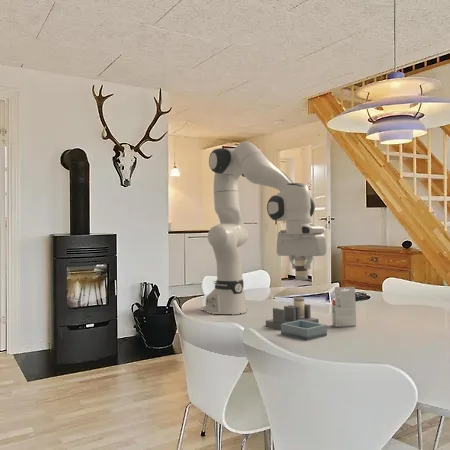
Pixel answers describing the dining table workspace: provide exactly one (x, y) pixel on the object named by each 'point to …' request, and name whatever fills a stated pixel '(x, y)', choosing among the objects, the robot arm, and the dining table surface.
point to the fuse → (300, 303)
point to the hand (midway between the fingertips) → (301, 269)
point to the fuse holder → (289, 316)
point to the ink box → (344, 307)
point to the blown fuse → (301, 268)
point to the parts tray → (304, 329)
